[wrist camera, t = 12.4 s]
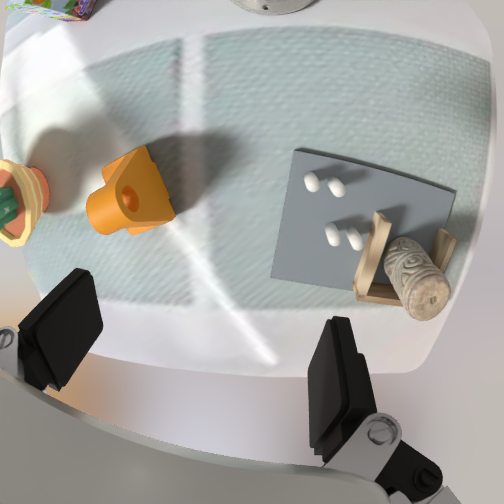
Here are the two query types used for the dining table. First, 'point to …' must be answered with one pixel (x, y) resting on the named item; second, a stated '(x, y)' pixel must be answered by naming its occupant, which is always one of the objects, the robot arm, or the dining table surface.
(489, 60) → the dining table surface
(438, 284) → the carving
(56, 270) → the dining table surface
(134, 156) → the bracket
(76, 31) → the dining table surface
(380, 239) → the end holder
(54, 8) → the snack box
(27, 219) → the potted cactus
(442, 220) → the board
